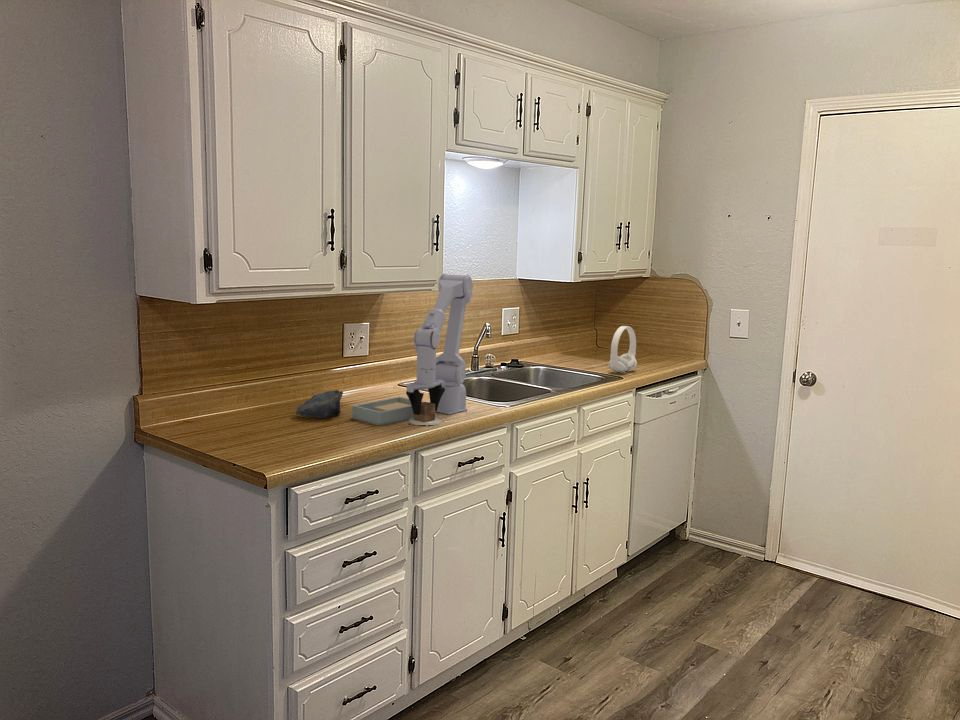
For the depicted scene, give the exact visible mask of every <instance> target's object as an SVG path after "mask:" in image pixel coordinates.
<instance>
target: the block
mask: <svg viewBox="0 0 960 720" xmlns="http://www.w3.org/2000/svg"><path fill="white" fill-rule="evenodd" d="M435 417H436V411H435V404H433V403H430V401H429V402H427V401H422V402H421V411H420V415H416V414H414V420H417V421H421V422H429V421H433V420H435Z"/></svg>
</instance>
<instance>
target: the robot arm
mask: <svg viewBox="0 0 960 720" xmlns="http://www.w3.org/2000/svg"><path fill="white" fill-rule="evenodd" d="M473 283H474V282H473V279H472V277H471V275H469V274H465V275H463V274H462V275H461V274H450V273H449V274H448V273H447V274H446V273H441V275H440V276H439V278H438V280H437V287H438V295H437V298H436V301H435V305H434V307H433V308H432V309H429V311H428V312H427V314H426V316H425V319H424V321H423V323H422V325H421V327H419V328H418V329H416V330H415V332H414V335H413V344H414V350H415V354H416V380H415V381H414V382H413V383H410V384H406V391H405V394H406V396H407V398H408V399H409V400H410V402H411V406H412V409H413V414H416V415H420V411H421V402H423V401H422V400H423V397H424V396H425V395H424V394H425V393H424V392H420V391H421V390H427V391H428V395H429V403H433V404H435V413H436V412H437V413H441V414H445V415H453V414H458V413H460V412H461V413H462V412H465V411H468V408H466V407H467V390H466V389H467V388H466V386H465V385H464V384H463V383H464V382H465V379H466V375H467V374H466V373H467V371H466V364H467V363H466V362H467V361H465V359H464V358H463V357H462V356H461V355H460V354H459V353H460V348H461V340H462V335H463V327H464V321H465V314H466V307H467V304H468V303H470V302H471V301H472V295H473V290H474V289H473V288H474V284H473ZM448 308H449V313H448V319H447V317H446V314H445V313H446V312H447V310H448ZM446 319H447V328H446V333H445V339H444V346H443V352H442V353H440V354H439V355H437V348H438V347H439V345H440V342H441V335H442V332H441V331H442V329H443V326H444V324H445V322H446Z"/></svg>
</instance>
